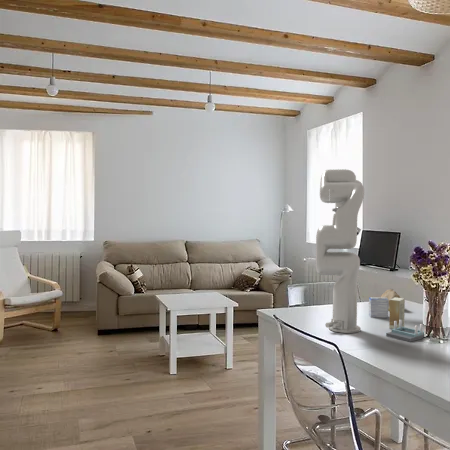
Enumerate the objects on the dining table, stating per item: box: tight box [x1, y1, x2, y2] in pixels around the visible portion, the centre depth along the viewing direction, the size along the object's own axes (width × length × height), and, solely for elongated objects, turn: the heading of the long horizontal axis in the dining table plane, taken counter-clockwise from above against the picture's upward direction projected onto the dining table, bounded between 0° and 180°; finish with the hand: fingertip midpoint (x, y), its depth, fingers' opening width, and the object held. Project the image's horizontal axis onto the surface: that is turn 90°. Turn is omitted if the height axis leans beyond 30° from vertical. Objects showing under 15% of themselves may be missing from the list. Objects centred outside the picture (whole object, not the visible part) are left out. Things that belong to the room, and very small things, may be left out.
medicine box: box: [368, 296, 389, 319], centre depth 218 cm, size 8×4×9 cm, turn 84°
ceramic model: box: [380, 288, 402, 312], centre depth 236 cm, size 14×11×10 cm
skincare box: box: [388, 297, 406, 330], centre depth 197 cm, size 6×4×12 cm
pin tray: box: [385, 320, 424, 343], centre depth 184 cm, size 14×10×5 cm
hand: (342, 245), depth 237 cm, fingers open, 9 cm apart
